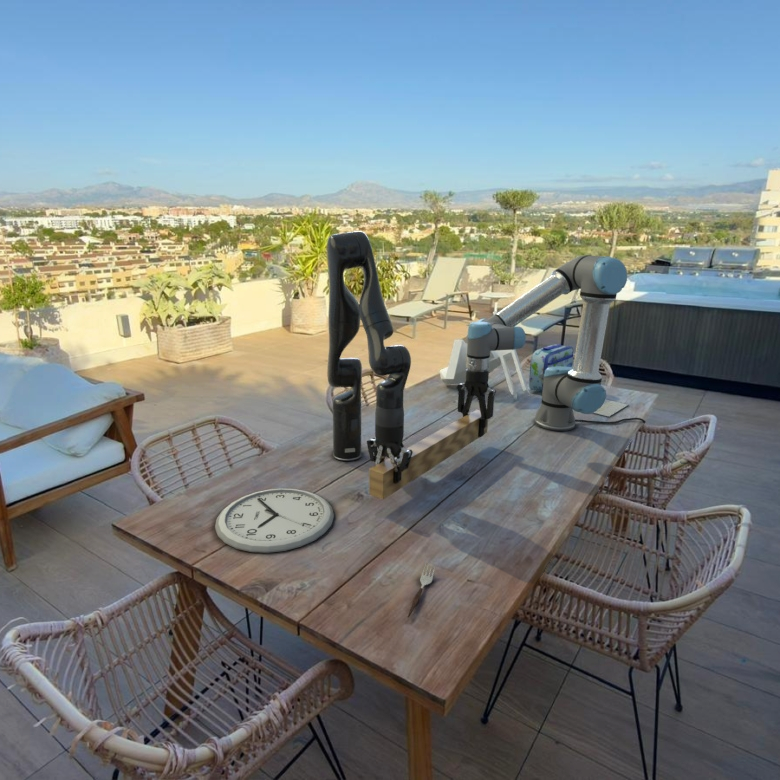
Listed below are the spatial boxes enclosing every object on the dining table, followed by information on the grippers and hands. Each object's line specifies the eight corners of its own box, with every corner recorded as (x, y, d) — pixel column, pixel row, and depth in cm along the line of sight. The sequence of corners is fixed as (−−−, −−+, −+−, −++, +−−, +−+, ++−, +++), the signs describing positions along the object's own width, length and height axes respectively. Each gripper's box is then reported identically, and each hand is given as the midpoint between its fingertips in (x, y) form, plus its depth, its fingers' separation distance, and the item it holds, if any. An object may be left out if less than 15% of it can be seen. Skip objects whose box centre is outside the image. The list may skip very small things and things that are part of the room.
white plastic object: (461, 429, 252) (437, 405, 227) (444, 352, 274) (420, 323, 250) (535, 404, 240) (518, 377, 215) (510, 326, 262) (492, 293, 237)
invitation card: (608, 416, 214) (573, 407, 224) (608, 416, 214) (573, 408, 224) (628, 404, 229) (594, 396, 238) (628, 405, 229) (594, 397, 238)
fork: (401, 617, 102) (401, 609, 101) (424, 570, 116) (425, 562, 116) (414, 621, 101) (414, 612, 100) (436, 572, 115) (436, 565, 115)
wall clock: (332, 544, 122) (200, 548, 120) (332, 550, 123) (201, 555, 120) (334, 484, 151) (228, 486, 148) (334, 489, 151) (228, 491, 149)
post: (475, 429, 186) (476, 409, 184) (487, 432, 183) (488, 412, 181) (369, 494, 140) (369, 468, 138) (382, 499, 137) (383, 473, 135)
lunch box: (545, 397, 238) (550, 352, 231) (524, 391, 245) (529, 348, 239) (572, 386, 255) (578, 344, 249) (552, 381, 262) (557, 340, 256)
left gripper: (359, 418, 138) (359, 477, 143) (403, 431, 130) (402, 493, 135) (376, 411, 144) (376, 467, 149) (420, 423, 135) (418, 482, 141)
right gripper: (448, 367, 175) (446, 431, 182) (497, 376, 165) (492, 444, 172) (459, 362, 181) (456, 425, 188) (507, 370, 171) (502, 436, 178)
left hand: (388, 479), depth 142 cm, fingers closed on post, 4 cm apart
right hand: (473, 434), depth 180 cm, fingers closed on post, 5 cm apart
